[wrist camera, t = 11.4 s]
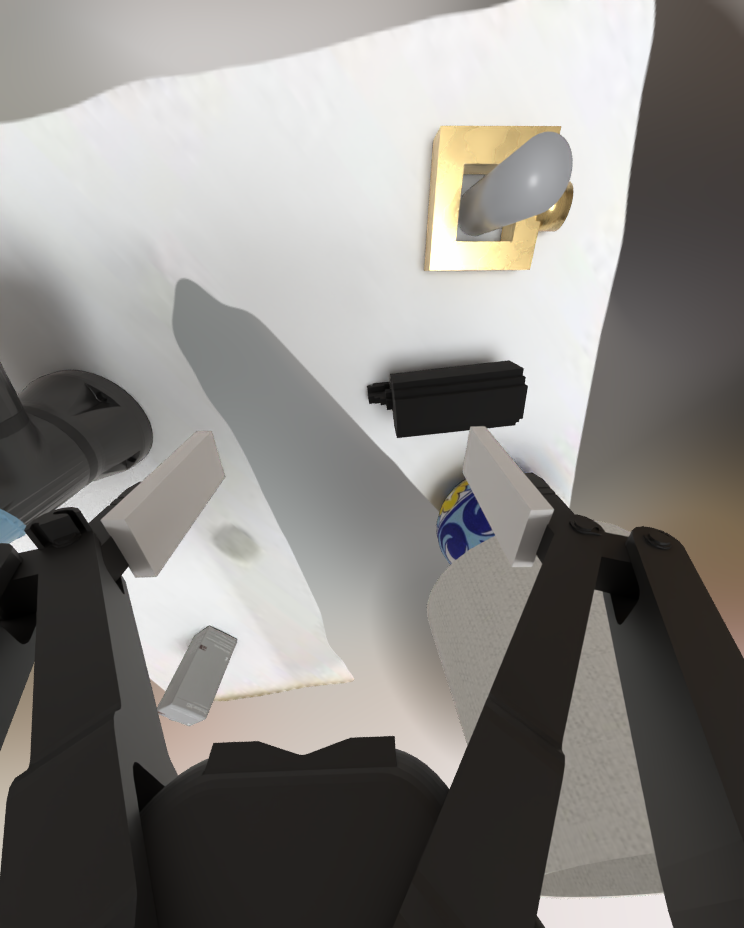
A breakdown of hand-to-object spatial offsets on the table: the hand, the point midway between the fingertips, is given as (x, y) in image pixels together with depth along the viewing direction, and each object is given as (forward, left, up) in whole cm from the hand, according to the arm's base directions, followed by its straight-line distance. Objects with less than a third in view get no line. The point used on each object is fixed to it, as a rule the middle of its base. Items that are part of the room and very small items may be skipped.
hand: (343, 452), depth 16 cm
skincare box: (-36, -66, -29) cm, 81 cm away
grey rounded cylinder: (+14, +14, -29) cm, 35 cm away
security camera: (+11, -5, -29) cm, 31 cm away
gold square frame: (+15, +14, -29) cm, 35 cm away
